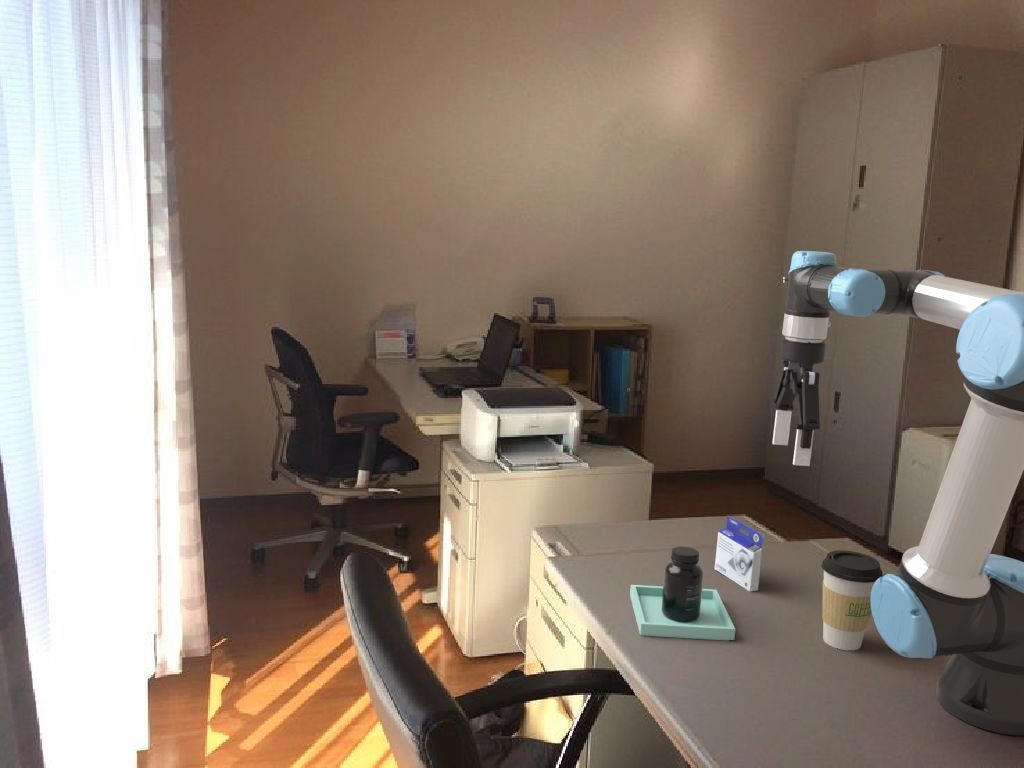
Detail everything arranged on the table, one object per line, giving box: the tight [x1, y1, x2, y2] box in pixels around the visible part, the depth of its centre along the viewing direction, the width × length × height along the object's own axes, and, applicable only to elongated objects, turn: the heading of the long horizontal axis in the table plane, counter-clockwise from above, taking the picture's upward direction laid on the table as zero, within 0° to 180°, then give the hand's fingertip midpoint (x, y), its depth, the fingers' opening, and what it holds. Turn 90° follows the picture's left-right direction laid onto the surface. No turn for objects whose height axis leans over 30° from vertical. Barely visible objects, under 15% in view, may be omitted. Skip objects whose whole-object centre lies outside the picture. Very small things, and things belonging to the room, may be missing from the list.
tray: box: [629, 584, 736, 641], centre depth 163 cm, size 16×16×2 cm
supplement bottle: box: [662, 546, 704, 622], centre depth 162 cm, size 7×7×12 cm
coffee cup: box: [820, 549, 884, 651], centre depth 155 cm, size 10×10×15 cm
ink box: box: [713, 515, 766, 593], centre depth 179 cm, size 12×2×12 cm, turn 25°
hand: (790, 454), depth 166 cm, fingers open, 13 cm apart
